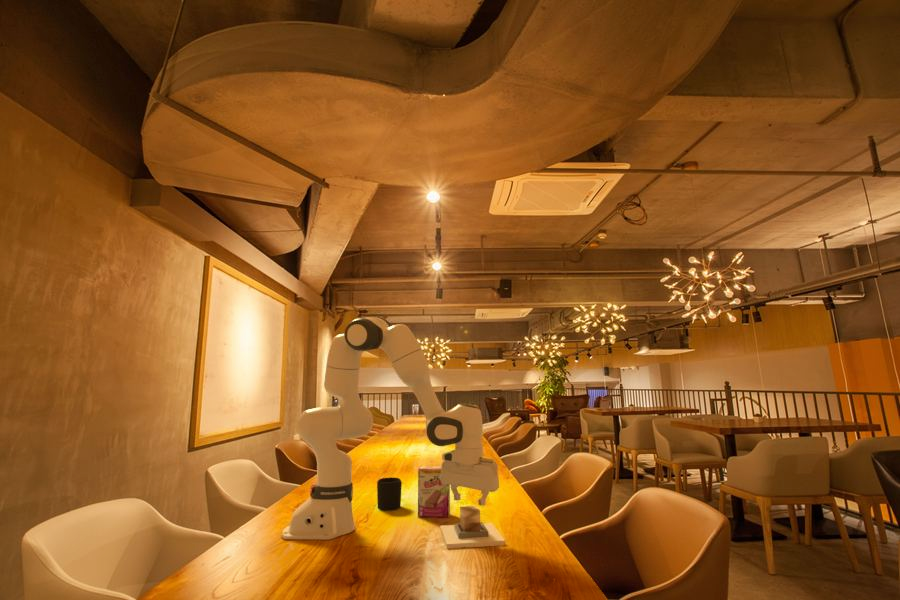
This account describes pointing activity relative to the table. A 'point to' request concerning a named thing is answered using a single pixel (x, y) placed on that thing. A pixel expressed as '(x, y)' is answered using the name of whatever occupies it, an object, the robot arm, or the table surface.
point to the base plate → (471, 536)
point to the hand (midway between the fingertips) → (469, 502)
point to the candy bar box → (432, 493)
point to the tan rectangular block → (469, 518)
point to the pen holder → (389, 493)
